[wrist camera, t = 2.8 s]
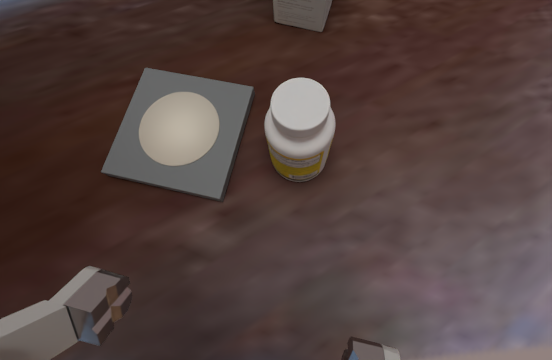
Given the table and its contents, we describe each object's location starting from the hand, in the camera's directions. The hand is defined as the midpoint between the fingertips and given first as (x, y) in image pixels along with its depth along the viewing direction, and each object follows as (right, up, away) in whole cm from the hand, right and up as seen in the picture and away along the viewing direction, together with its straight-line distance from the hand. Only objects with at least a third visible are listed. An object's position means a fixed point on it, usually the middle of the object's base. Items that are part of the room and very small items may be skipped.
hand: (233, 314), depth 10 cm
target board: (-8, +10, +20) cm, 23 cm away
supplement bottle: (+4, +7, +18) cm, 20 cm away
